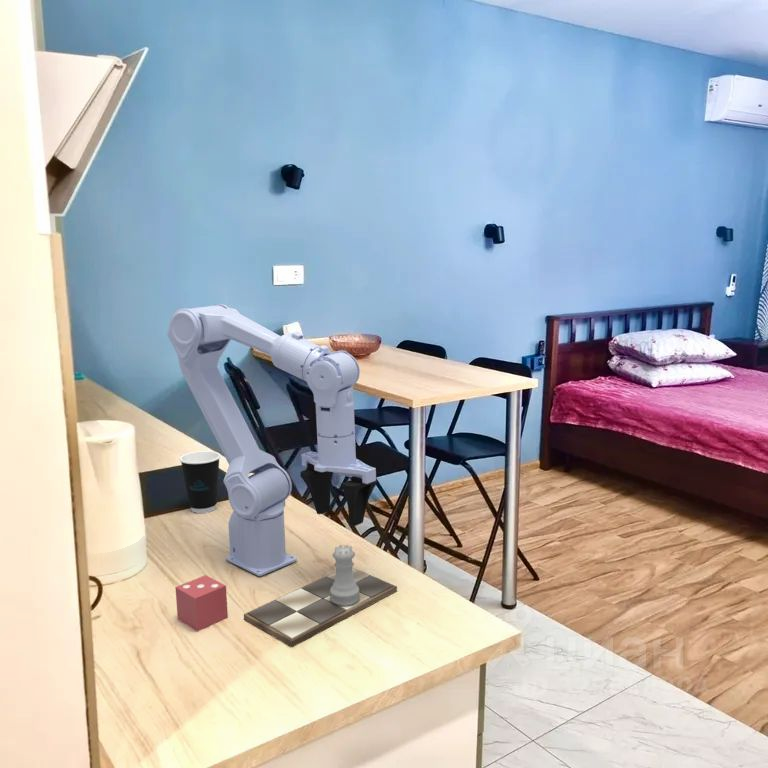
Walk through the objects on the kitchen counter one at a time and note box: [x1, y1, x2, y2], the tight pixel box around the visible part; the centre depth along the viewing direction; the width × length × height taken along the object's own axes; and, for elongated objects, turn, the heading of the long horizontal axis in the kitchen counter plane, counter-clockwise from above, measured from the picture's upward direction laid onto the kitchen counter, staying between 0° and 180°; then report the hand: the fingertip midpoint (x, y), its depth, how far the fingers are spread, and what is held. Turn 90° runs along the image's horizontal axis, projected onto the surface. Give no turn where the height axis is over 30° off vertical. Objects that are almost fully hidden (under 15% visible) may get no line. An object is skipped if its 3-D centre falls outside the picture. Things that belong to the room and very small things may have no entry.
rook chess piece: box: [330, 544, 360, 606], centre depth 104 cm, size 4×4×8 cm
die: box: [174, 574, 229, 632], centre depth 102 cm, size 5×5×5 cm
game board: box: [243, 567, 398, 648], centre depth 105 cm, size 11×21×1 cm, turn 137°
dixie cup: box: [179, 450, 221, 514], centre depth 143 cm, size 8×8×11 cm
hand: (339, 518), depth 111 cm, fingers open, 7 cm apart
